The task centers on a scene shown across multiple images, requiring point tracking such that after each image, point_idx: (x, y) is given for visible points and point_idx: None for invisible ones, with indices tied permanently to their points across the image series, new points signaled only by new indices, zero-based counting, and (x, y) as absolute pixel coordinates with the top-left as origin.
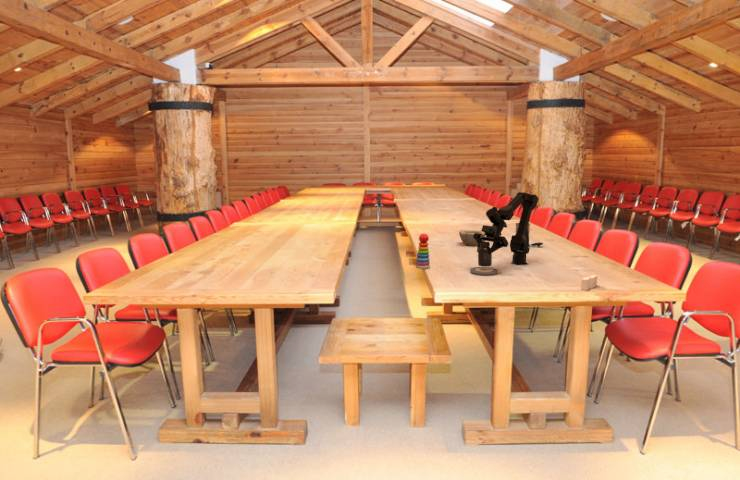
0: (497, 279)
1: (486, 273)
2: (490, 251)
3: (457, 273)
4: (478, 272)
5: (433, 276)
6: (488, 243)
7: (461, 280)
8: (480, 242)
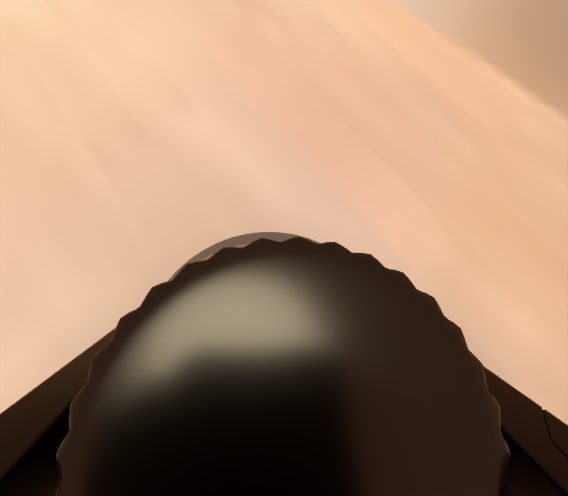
0: (53, 236)
1: (181, 268)
2: (90, 351)
3: (390, 183)
4: (242, 235)
5: (420, 29)
6: (72, 431)
7: (234, 57)
8: (416, 292)
